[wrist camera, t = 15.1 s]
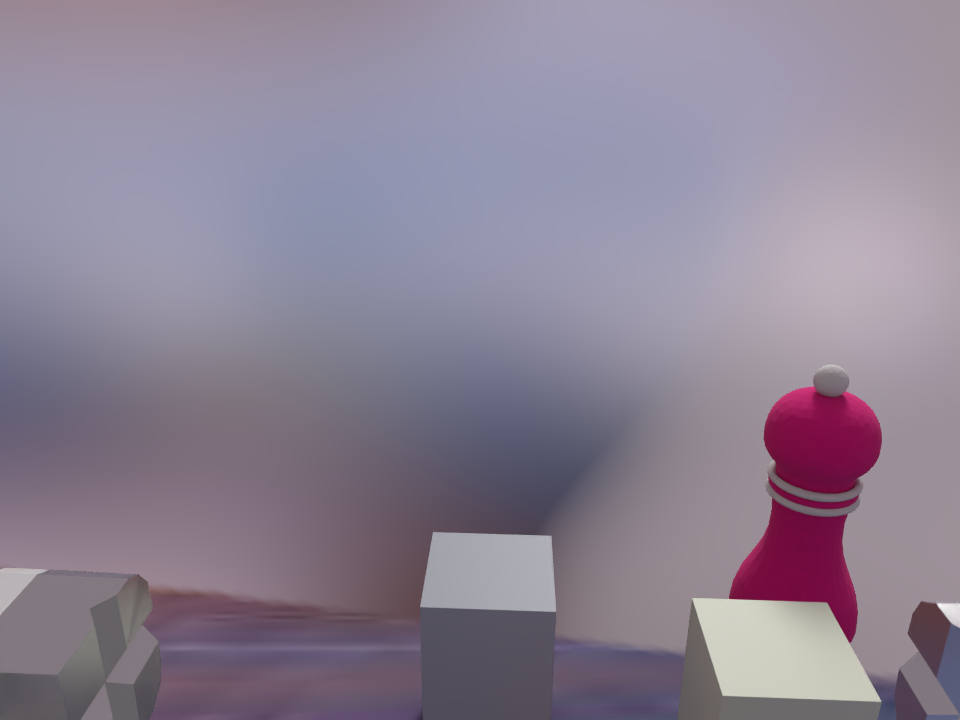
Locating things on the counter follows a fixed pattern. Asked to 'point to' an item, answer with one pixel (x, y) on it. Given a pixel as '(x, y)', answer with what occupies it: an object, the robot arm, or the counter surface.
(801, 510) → the pepper mill
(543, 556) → the cover
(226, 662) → the counter surface
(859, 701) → the cover
